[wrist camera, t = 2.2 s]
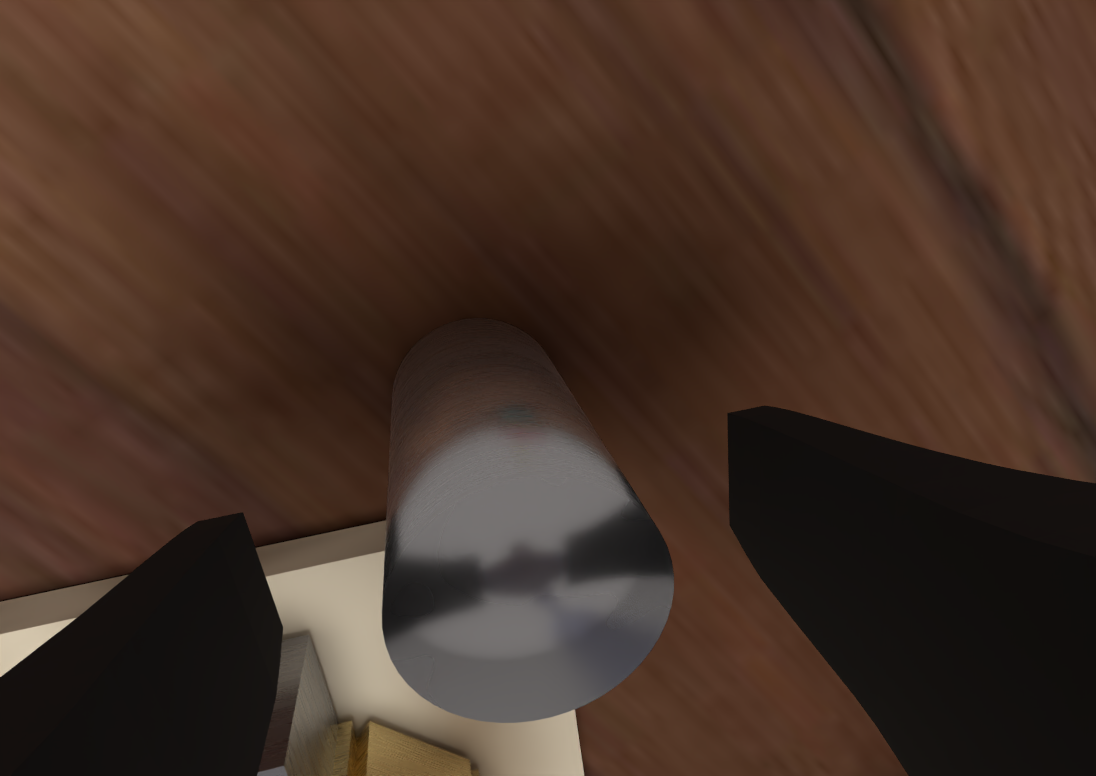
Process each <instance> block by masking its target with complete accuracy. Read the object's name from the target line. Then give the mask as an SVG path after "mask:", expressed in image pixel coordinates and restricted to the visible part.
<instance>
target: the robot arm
mask: <svg viewBox="0 0 1096 776" xmlns="http://www.w3.org/2000/svg"><path fill="white" fill-rule="evenodd" d="M728 463H729V515H730V527H731V528H732V530H733V532H734V534H735V535H736V537H737V539H738V541H739V543H740V544H741V546H742V548H743V550H744V551H745V553H746V555H747V556H748V558H749V560H750V561H751V563H752V565H753V566H754V568H755V570H756V571H757V573H758V574H759V576H760V578H761V579H762V580H763V582H764V583H765V584H766V585H767V587H768V588H769V589H770V591H771V592H772V593H773V595H774V596H775V597H776V598H777V600H778V601H779V602H780V603H781V605H782V606H783V607H784V609H785V610H786V611H787V612H788V614H789V615H790V616H791V617H792V619H793V620H794V621H795V622H796V624H797V625H798V626H799V627H800V629H801V630H802V631H803V632H804V634H805V635H806V636H807V637H808V639H809V640H810V641H811V642H812V644H813V645H814V646H815V647H816V649H817V650H818V651H819V652H820V654H821V655H822V656H823V657H824V659H825V660H826V661H827V662H828V664H829V665H830V666H831V667H832V669H833V670H834V671H835V672H836V674H837V675H838V676H839V677H840V679H841V680H842V681H843V682H844V684H845V685H846V686H847V687H848V689H849V690H850V691H851V692H852V694H853V695H854V696H855V697H856V699H857V700H858V702H859V703H860V704H861V706H862V707H863V708H864V710H865V711H866V712H867V714H868V715H869V716H870V718H871V719H872V721H873V722H874V723H875V725H876V726H877V728H878V729H879V731H880V732H881V734H882V735H883V737H884V738H885V740H886V741H887V743H888V744H889V746H890V748H891V749H892V751H893V752H894V754H895V755H896V757H897V758H898V760H899V761H900V763H901V764H902V766H903V768H904V769H905V771H906V772H907V774H908V775H909V776H1096V484H1095V483H1088V482H1082V481H1075V480H1070V479H1064V478H1059V477H1053V476H1048V475H1042V474H1037V473H1031V472H1026V471H1020V470H1015V469H1010V468H1005V467H1000V466H995V465H991V464H986V463H982V462H977V461H973V460H969V459H965V458H961V457H957V456H953V455H949V454H945V453H940V452H936V451H932V450H928V449H925V448H921V447H917V446H914V445H910V444H906V443H902V442H899V441H895V440H892V439H888V438H885V437H881V436H878V435H874V434H871V433H867V432H864V431H861V430H857V429H854V428H850V427H847V426H844V425H840V424H837V423H833V422H830V421H826V420H823V419H820V418H816V417H813V416H809V415H805V414H801V413H798V412H794V411H790V410H786V409H781V408H776V407H770V406H761V407H756V408H751V409H746V410H741V411H736V412H731V413H728ZM282 636H283V625H282V623H281V620H280V617H279V614H278V611H277V608H276V605H275V603H274V600H273V597H272V594H271V591H270V588H269V585H268V583H267V580H266V577H265V574H264V571H263V568H262V565H261V563H260V560H259V557H258V554H257V551H256V548H255V545H254V543H253V540H252V537H251V534H250V531H249V528H248V525H247V523H246V520H245V517H244V514H243V512H242V513H237V514H232V515H227V516H222V517H218V518H213V519H208V520H203V521H198V522H196V523H195V524H193V525H191V526H190V527H188V528H187V529H185V530H184V531H183V532H181V533H180V534H179V535H177V536H176V537H175V538H173V539H172V540H171V541H169V542H168V543H167V544H166V545H164V546H163V547H162V548H161V549H159V550H158V551H157V552H156V553H155V554H153V555H152V556H151V557H150V558H149V559H147V560H146V561H145V562H144V563H143V564H141V565H140V566H139V567H138V568H136V569H135V570H134V571H133V572H132V573H130V574H129V575H128V576H127V577H126V578H124V579H123V580H122V581H121V582H120V583H118V584H117V585H116V586H115V587H114V588H112V589H111V590H110V591H109V592H108V593H106V594H105V595H104V596H103V597H101V598H100V599H99V600H98V601H97V602H95V603H94V604H93V605H92V606H91V607H89V608H88V609H87V610H86V611H85V612H83V613H82V614H81V615H80V616H78V617H77V618H76V619H75V620H73V621H72V622H71V623H69V624H68V625H67V626H66V627H64V628H63V629H62V630H60V631H59V632H58V633H57V634H55V635H54V636H53V637H51V638H50V639H49V640H48V641H46V642H45V643H44V644H42V645H41V646H40V647H39V648H37V649H36V650H35V651H33V652H32V653H31V654H30V655H28V656H27V657H26V658H24V659H23V660H22V661H20V662H19V663H18V664H17V665H15V666H14V667H13V668H11V669H10V670H9V671H8V672H6V673H5V674H4V675H2V676H1V677H0V776H257V774H258V770H259V766H260V762H261V758H262V754H263V750H264V746H265V741H266V737H267V733H268V729H269V725H270V720H271V716H272V712H273V708H274V703H275V699H276V694H277V686H278V677H279V669H280V659H281V647H282Z"/></svg>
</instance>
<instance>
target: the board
mask: <svg viewBox="0 0 1096 776" xmlns="http://www.w3.org/2000/svg"><path fill="white" fill-rule="evenodd" d="M385 535H386V520H385V521H381V522H376V523H371V524H366V525H362V526H357V527H352V528H348V529H343V530H338V531H333V532H329V533H324V534H319V535H314V536H310V537H305V538H300V539H295V540H291V541H286V542H281V543H276V544H272V545H267V546H262V547H257V548H256V551H257V554H258V557H259V560H260V563H261V565H262V568H263V571H264V574H265V577H266V580H267V583H268V585H269V588H270V591H271V594H272V597H273V600H274V603H275V605H276V608H277V611H278V614H279V617H280V620H281V623H282V625H283V636H282V641H283V640H287V639H291V638H296V637H300V636H304V635H309V636H310V639H311V642H312V645H313V648H314V651H315V654H316V657H317V660H318V663H319V666H320V669H321V672H322V675H323V678H324V681H325V685H326V688H327V691H328V694H329V697H330V700H331V703H332V706H333V709H334V712H335V715H336V718H337V721H338V724H339V723H343V722H347V721H351V720H352V722H353V725H354V729H355V732H356V735H357V736H358V735H359V734H360V733H361V731H362V730H363V729H364V728H365V726H366V725H367V724H368V723H369V721H371V722H373V723H376V724H378V725H381V726H384V727H386V728H389V729H391V730H394V731H397V732H399V733H402V734H404V735H407V736H410V737H412V738H415V739H417V740H420V741H423V742H425V743H428V744H430V745H433V746H436V747H438V748H441V749H443V750H446V751H449V752H451V753H454V754H456V755H459V756H461V757H464V758H467V759H469V760H470V767H471V770H475V769H478V770H479V774H480V776H584V770H583V763H582V756H581V749H580V742H579V736H578V729H577V722H576V715H575V709H574V710H572V711H570V712H567V713H563V714H560V715H557V716H554V717H550V718H545V719H541V720H536V721H528V722H519V723H495V722H484V721H478V720H473V719H469V718H464V717H461V716H458V715H455V714H452V713H450V712H447V711H445V710H443V709H441V708H439V707H437V706H435V705H433V704H432V703H430V702H429V701H427V700H426V699H424V698H423V697H421V696H420V695H419V694H418V693H417V692H415V691H414V690H413V689H412V688H411V687H410V686H409V685H408V684H407V683H406V682H405V680H404V679H403V678H402V677H401V675H400V674H399V673H398V671H397V669H396V668H395V666H394V664H393V662H392V661H391V659H390V656H389V653H388V651H387V648H386V645H385V641H384V636H383V630H382V599H383V577H384V556H385ZM127 576H128V575H125V576H120V577H115V578H111V579H106V580H101V581H96V582H92V583H87V584H82V585H77V586H73V587H68V588H63V589H58V590H54V591H49V592H44V593H39V594H35V595H30V596H25V597H20V598H16V599H11V600H6V601H1V602H0V677H1V676H2V675H4V674H5V673H6V672H8V671H9V670H10V669H11V668H13V667H14V666H15V665H17V664H18V663H19V662H20V661H22V660H23V659H24V658H26V657H27V656H28V655H30V654H31V653H32V652H33V651H35V650H36V649H37V648H39V647H40V646H41V645H42V644H44V643H45V642H46V641H48V640H49V639H50V638H51V637H53V636H54V635H55V634H57V633H58V632H59V631H60V630H62V629H63V628H64V627H66V626H67V625H68V624H69V623H71V622H72V621H73V620H75V619H76V618H77V617H78V616H80V615H81V614H82V613H83V612H85V611H86V610H87V609H88V608H89V607H91V606H92V605H93V604H94V603H95V602H97V601H98V600H99V599H100V598H101V597H103V596H104V595H105V594H106V593H108V592H109V591H110V590H111V589H112V588H114V587H115V586H116V585H117V584H118V583H120V582H121V581H122V580H123V579H124V578H126V577H127Z"/></svg>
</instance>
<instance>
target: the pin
mask: <svg viewBox="0 0 1096 776" xmlns="http://www.w3.org/2000/svg"><path fill="white" fill-rule="evenodd" d="M673 592H674V573H673V566H672V560H671V557H670V554H669V551H668V547H667V545H666V543H665V541H664V539H663V537H662V535H661V533H660V531H659V530H658V528H657V527H656V525H655V523H654V522H653V520H652V519H651V517H650V516H649V514H648V512H647V511H646V509H645V508H644V506H643V505H642V503H641V501H640V500H639V498H638V497H637V495H636V494H635V492H634V490H633V489H632V487H631V486H630V484H629V483H628V481H627V479H626V478H625V476H624V475H623V473H622V472H621V470H620V468H619V467H618V465H617V464H616V462H615V461H614V459H613V457H612V456H611V454H610V453H609V451H608V450H607V448H606V446H605V445H604V443H603V442H602V440H601V439H600V437H599V435H598V434H597V432H596V431H595V429H594V427H593V426H592V424H591V423H590V421H589V420H588V418H587V416H586V415H585V413H584V412H583V410H582V409H581V407H580V405H579V404H578V402H577V401H576V399H575V398H574V396H573V394H572V393H571V391H570V390H569V388H568V387H567V385H566V383H565V382H564V380H563V379H562V377H561V376H560V374H559V372H558V371H557V369H556V368H555V366H554V365H553V363H552V361H551V360H550V358H549V357H548V355H547V354H546V352H545V351H544V350H543V348H542V347H541V346H540V345H539V344H538V343H537V341H536V340H535V339H533V338H532V337H531V336H530V335H528V334H527V333H526V332H524V331H522V330H521V329H519V328H517V327H515V326H513V325H511V324H508V323H505V322H502V321H498V320H493V319H486V318H472V319H463V320H459V321H454V322H451V323H448V324H445V325H443V326H440V327H439V328H437V329H435V330H433V331H431V332H430V333H428V334H427V335H425V336H424V337H423V338H421V339H420V340H419V341H418V342H417V343H416V344H415V345H414V346H413V347H412V348H411V349H410V351H409V352H408V353H407V354H406V356H405V358H404V359H403V361H402V362H401V364H400V367H399V369H398V371H397V373H396V377H395V380H394V384H393V392H392V409H391V430H390V451H389V472H388V493H387V514H386V535H385V556H384V577H383V599H382V630H383V636H384V641H385V645H386V648H387V651H388V653H389V656H390V659H391V661H392V662H393V664H394V666H395V668H396V669H397V671H398V673H399V674H400V675H401V677H402V678H403V679H404V680H405V682H406V683H407V684H408V685H409V686H410V687H411V688H412V689H413V690H414V691H415V692H417V693H418V694H419V695H420V696H421V697H423V698H424V699H426V700H427V701H429V702H430V703H432V704H433V705H435V706H437V707H439V708H441V709H443V710H445V711H447V712H450V713H452V714H455V715H458V716H461V717H464V718H469V719H473V720H478V721H484V722H495V723H519V722H528V721H536V720H541V719H545V718H550V717H554V716H557V715H560V714H563V713H567V712H570V711H572V710H574V709H577V708H579V707H581V706H584V705H586V704H588V703H590V702H592V701H593V700H595V699H597V698H599V697H601V696H602V695H604V694H605V693H607V692H608V691H610V690H611V689H613V688H614V687H616V686H617V685H618V684H619V683H621V682H622V681H623V680H624V679H625V678H627V677H628V676H629V675H630V674H631V673H632V672H633V671H634V670H635V669H636V668H637V667H638V666H639V665H640V664H641V663H642V661H643V660H644V659H645V657H646V656H647V655H648V654H649V652H650V651H651V650H652V648H653V647H654V645H655V643H656V642H657V640H658V638H659V637H660V635H661V633H662V630H663V628H664V626H665V624H666V622H667V618H668V615H669V612H670V609H671V605H672V598H673Z"/></svg>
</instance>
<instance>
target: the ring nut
mask: <svg viewBox="0 0 1096 776" xmlns="http://www.w3.org/2000/svg"><path fill="white" fill-rule="evenodd" d="M257 776H480V774H479V770H478V769H475V770H471V767H470V760H469V759H467V758H464V757H461V756H459V755H456V754H454V753H451V752H449V751H446V750H443V749H441V748H438V747H436V746H433V745H430V744H428V743H425V742H423V741H420V740H417V739H415V738H412V737H410V736H407V735H404V734H402V733H399V732H397V731H394V730H391V729H389V728H386V727H384V726H381V725H378V724H376V723H373V722H371V721H369V723H368V724H367V725H366V726H365V728H364V729H363V730H362V731H361V733H360V734H359V735H358V736H357V735H356V732H355V729H354V725H353V722H352V720H351V721H347V722H343V723H339V724H338V721H337V718H336V715H335V712H334V709H333V706H332V703H331V700H330V697H329V694H328V691H327V688H326V685H325V681H324V678H323V675H322V672H321V669H320V666H319V663H318V660H317V657H316V654H315V651H314V648H313V645H312V642H311V639H310V636H309V635H304V636H300V637H296V638H291V639H287V640H283V641H282V647H281V659H280V669H279V677H278V686H277V694H276V699H275V703H274V708H273V712H272V716H271V720H270V725H269V729H268V733H267V737H266V741H265V746H264V750H263V754H262V758H261V762H260V766H259V770H258V774H257Z"/></svg>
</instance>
